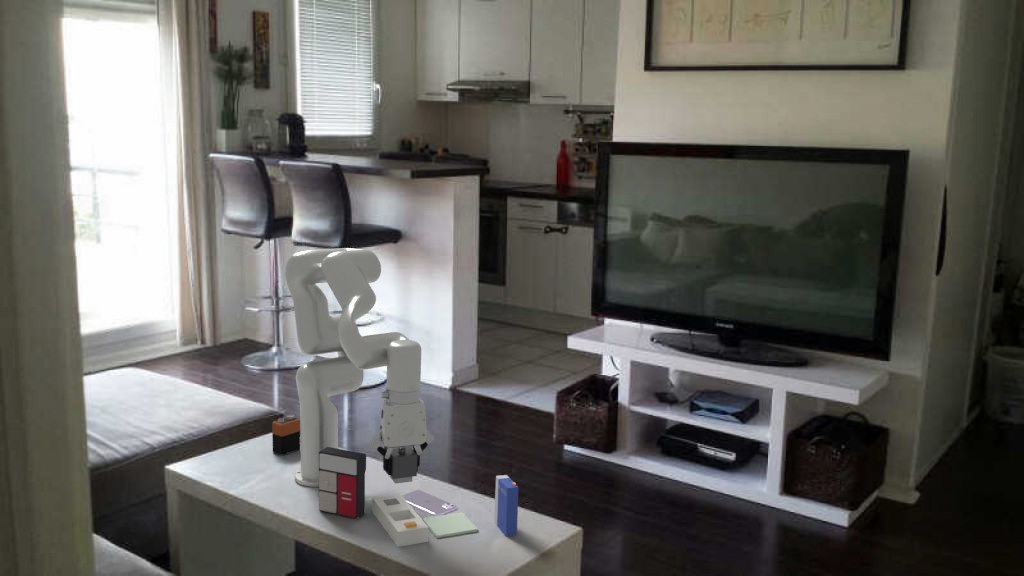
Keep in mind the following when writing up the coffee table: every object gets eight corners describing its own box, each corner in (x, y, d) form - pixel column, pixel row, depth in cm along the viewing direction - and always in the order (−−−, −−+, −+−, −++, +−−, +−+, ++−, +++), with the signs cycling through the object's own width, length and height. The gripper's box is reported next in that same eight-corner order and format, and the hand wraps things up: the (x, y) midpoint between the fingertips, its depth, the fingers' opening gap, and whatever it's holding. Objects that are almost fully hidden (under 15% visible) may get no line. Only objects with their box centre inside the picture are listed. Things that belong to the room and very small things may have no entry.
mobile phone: (418, 488, 232) (459, 505, 223) (418, 491, 233) (459, 509, 223) (395, 496, 227) (436, 514, 217) (395, 500, 227) (436, 518, 217)
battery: (301, 449, 259) (300, 415, 257) (282, 456, 253) (281, 421, 251) (290, 446, 261) (290, 412, 259) (271, 452, 256) (271, 418, 254)
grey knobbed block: (385, 476, 209) (386, 445, 208) (408, 473, 212) (409, 442, 210) (393, 485, 204) (393, 453, 203) (416, 482, 207) (417, 450, 205)
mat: (422, 520, 215) (422, 518, 215) (461, 514, 219) (461, 512, 219) (436, 538, 206) (437, 535, 206) (477, 531, 210) (477, 528, 210)
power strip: (372, 511, 219) (372, 495, 218) (400, 507, 222) (400, 491, 221) (397, 546, 201) (398, 529, 200) (427, 541, 204) (428, 524, 203)
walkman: (517, 535, 209) (518, 485, 207) (505, 536, 208) (507, 486, 206) (505, 521, 216) (506, 473, 214) (494, 522, 215) (495, 474, 213)
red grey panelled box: (316, 511, 218) (316, 452, 215) (326, 505, 222) (326, 446, 219) (356, 520, 214) (357, 459, 211) (366, 513, 218) (366, 453, 215)
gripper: (370, 403, 197) (369, 482, 201) (445, 396, 205) (442, 473, 208) (361, 393, 204) (360, 470, 207) (433, 387, 211) (431, 461, 215)
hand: (401, 470), depth 208 cm, fingers closed on grey knobbed block, 5 cm apart
